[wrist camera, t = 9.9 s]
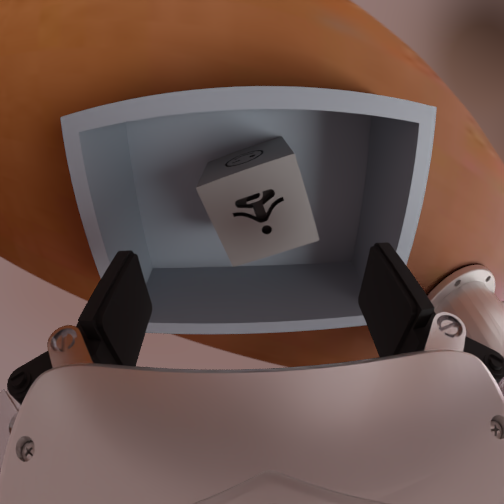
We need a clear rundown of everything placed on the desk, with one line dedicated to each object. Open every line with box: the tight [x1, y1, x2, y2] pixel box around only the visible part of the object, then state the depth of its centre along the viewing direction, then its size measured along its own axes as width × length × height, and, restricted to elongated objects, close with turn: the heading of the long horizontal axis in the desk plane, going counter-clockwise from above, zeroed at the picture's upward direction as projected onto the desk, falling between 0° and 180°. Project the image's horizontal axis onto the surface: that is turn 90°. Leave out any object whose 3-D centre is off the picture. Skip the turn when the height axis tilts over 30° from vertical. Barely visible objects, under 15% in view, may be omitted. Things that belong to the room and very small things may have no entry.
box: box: [60, 86, 437, 334], centre depth 17 cm, size 18×14×7 cm
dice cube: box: [196, 136, 319, 267], centre depth 17 cm, size 5×5×5 cm
